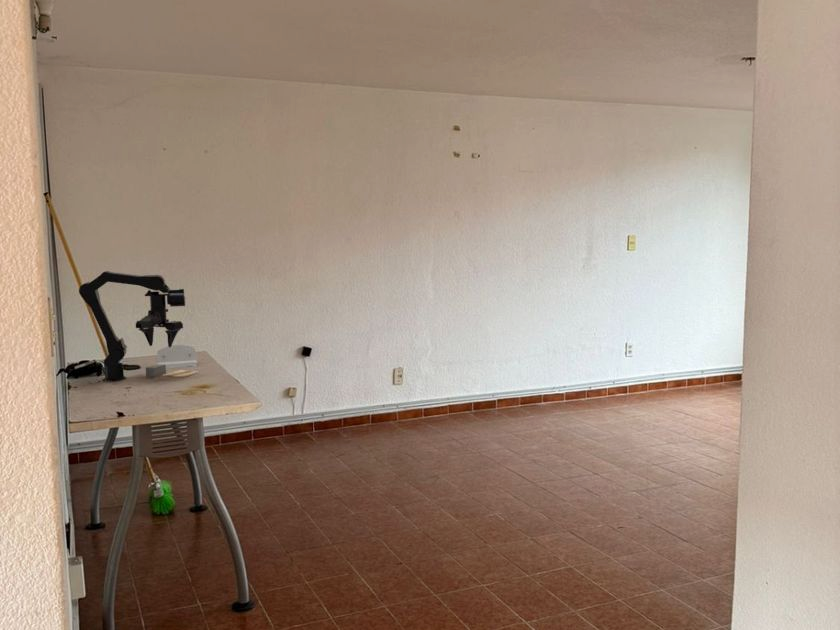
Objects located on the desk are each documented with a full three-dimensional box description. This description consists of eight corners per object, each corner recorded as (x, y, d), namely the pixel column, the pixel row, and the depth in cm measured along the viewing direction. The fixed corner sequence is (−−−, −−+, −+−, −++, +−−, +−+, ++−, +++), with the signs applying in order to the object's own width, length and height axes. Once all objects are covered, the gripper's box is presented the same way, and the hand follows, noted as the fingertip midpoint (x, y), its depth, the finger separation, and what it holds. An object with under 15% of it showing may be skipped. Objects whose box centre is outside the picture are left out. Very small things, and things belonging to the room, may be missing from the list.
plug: (154, 378, 313) (146, 377, 315) (169, 373, 322) (161, 372, 323) (153, 368, 313) (145, 367, 314) (169, 363, 321) (161, 363, 323)
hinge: (156, 369, 329) (154, 345, 331) (156, 371, 334) (155, 347, 336) (198, 366, 334) (196, 342, 336) (197, 367, 339) (196, 344, 341)
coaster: (162, 376, 315) (162, 374, 315) (178, 371, 324) (178, 369, 324) (183, 377, 312) (183, 376, 311) (199, 372, 321) (198, 371, 321)
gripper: (124, 308, 308) (127, 348, 310) (164, 310, 301) (166, 351, 303) (144, 305, 318) (146, 343, 320) (182, 307, 311) (184, 346, 313)
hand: (160, 346), depth 314 cm, fingers open, 9 cm apart
